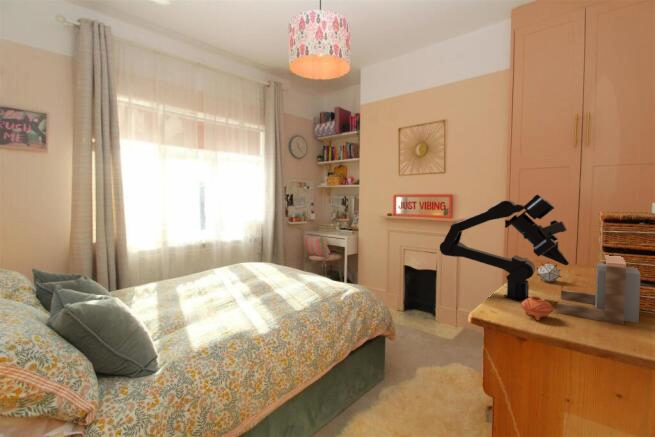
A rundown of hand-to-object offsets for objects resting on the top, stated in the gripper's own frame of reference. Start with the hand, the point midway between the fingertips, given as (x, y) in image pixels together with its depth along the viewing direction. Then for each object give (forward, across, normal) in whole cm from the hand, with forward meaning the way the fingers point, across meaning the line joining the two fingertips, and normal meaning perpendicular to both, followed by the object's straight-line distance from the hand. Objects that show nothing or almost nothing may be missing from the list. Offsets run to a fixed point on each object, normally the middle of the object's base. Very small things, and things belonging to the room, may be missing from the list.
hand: (567, 264), depth 102 cm
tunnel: (+14, 0, +6) cm, 15 cm away
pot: (+5, -17, +15) cm, 23 cm away
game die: (+5, +31, +14) cm, 35 cm away
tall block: (+18, 0, +1) cm, 18 cm away
